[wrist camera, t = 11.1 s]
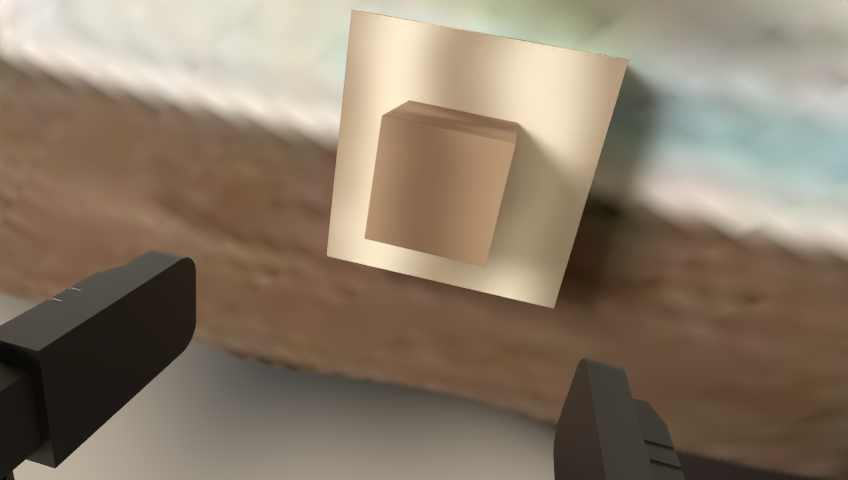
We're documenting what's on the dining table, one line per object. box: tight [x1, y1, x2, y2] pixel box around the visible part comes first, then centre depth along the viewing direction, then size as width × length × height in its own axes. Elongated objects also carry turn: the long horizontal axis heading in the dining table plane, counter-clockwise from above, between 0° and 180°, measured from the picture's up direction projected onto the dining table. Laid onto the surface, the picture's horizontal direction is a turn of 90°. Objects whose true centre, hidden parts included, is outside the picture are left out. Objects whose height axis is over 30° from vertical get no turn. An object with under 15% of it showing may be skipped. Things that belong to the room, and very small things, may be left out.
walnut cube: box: [364, 100, 517, 267], centre depth 22 cm, size 5×5×5 cm
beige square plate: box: [327, 10, 629, 308], centre depth 26 cm, size 12×12×4 cm
